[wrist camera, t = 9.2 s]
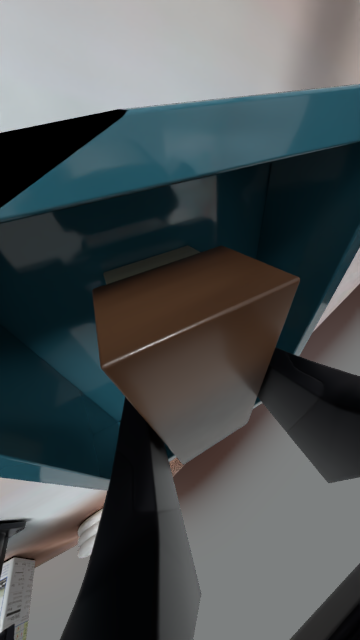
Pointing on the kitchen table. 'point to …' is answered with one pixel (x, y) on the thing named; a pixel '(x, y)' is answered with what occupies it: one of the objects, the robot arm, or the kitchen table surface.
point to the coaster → (88, 534)
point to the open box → (155, 243)
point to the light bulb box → (16, 595)
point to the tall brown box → (191, 339)
